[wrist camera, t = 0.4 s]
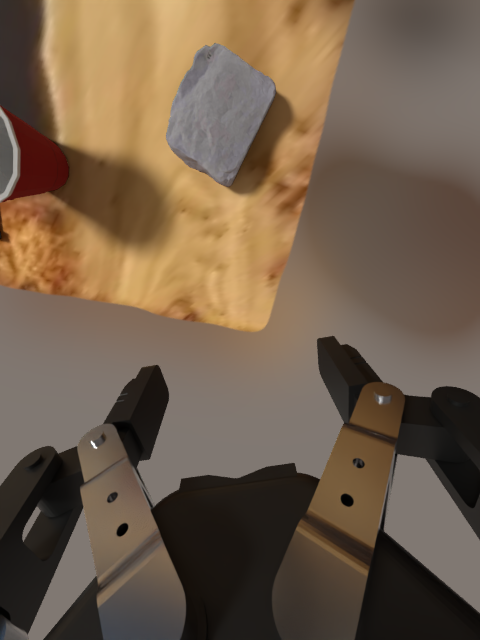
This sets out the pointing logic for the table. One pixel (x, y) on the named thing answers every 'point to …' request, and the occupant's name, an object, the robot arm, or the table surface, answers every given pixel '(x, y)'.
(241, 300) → the table surface
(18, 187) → the plastic cup
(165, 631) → the robot arm
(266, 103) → the stone block
